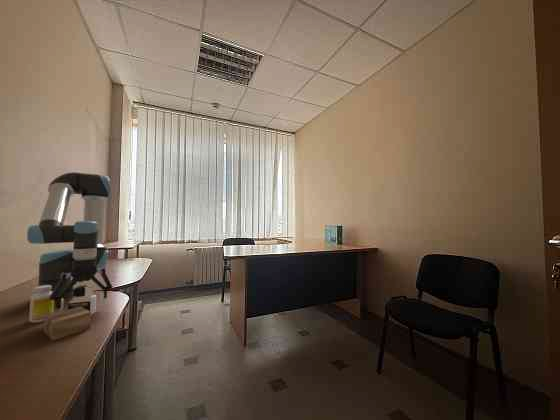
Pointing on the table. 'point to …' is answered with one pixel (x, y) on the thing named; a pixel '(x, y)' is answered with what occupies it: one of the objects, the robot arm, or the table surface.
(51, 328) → the wooden block
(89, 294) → the medicine bottle
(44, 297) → the supplement bottle
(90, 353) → the table surface
